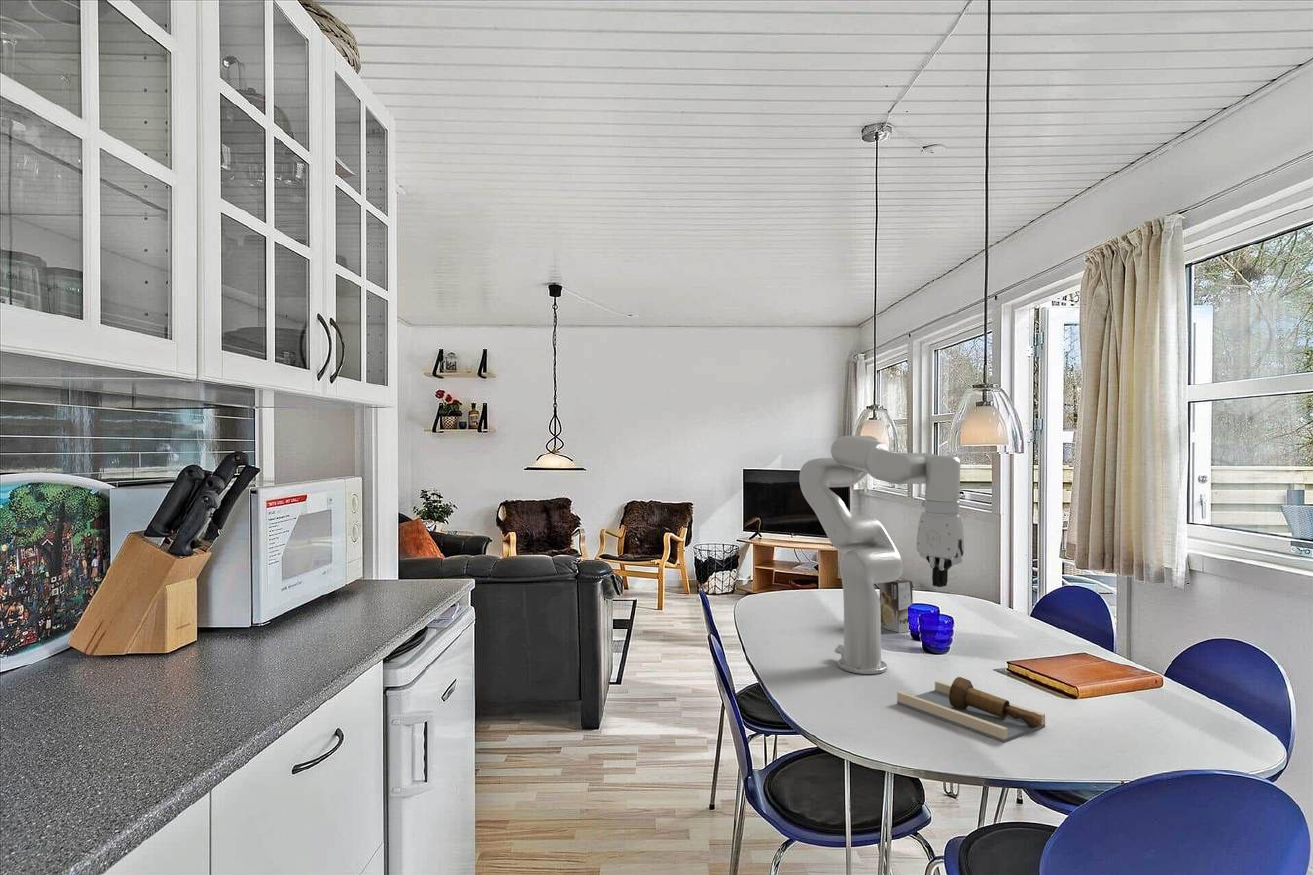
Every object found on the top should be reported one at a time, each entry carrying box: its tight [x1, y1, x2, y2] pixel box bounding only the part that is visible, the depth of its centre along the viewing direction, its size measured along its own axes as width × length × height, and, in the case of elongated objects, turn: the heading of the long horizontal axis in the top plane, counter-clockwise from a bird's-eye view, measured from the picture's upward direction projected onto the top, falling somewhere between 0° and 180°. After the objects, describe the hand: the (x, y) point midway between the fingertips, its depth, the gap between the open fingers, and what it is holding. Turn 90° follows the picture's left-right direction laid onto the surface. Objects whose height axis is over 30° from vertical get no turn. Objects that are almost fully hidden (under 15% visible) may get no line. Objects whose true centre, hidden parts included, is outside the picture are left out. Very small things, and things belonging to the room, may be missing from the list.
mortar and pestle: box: [949, 676, 1041, 727], centre depth 156 cm, size 7×6×18 cm
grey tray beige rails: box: [896, 680, 1046, 743], centre depth 159 cm, size 26×15×3 cm, turn 33°
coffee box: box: [878, 577, 914, 634], centre depth 234 cm, size 9×6×16 cm
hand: (939, 585), depth 170 cm, fingers closed
